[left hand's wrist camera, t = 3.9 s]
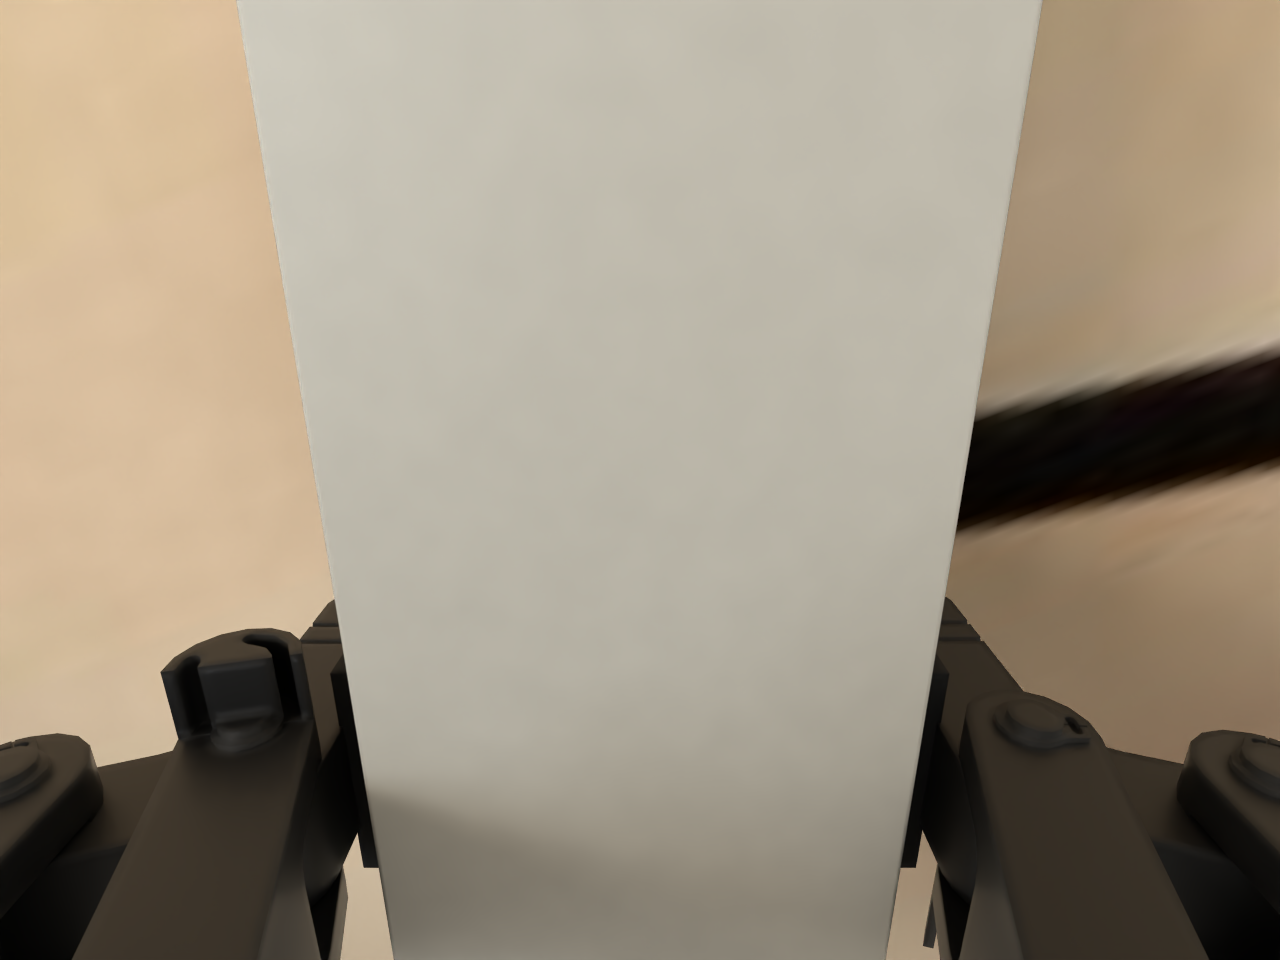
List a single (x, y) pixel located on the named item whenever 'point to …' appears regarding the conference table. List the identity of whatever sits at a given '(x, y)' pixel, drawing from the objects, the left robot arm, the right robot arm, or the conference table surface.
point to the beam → (639, 441)
